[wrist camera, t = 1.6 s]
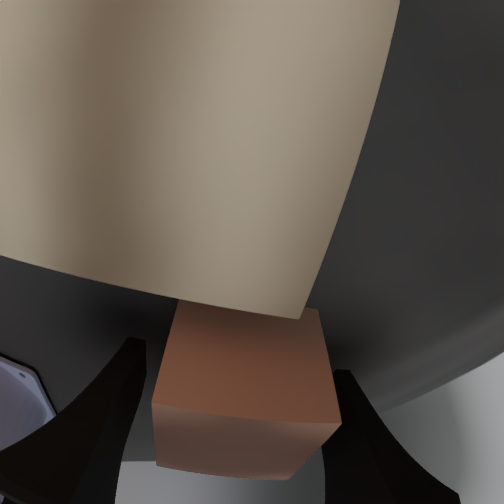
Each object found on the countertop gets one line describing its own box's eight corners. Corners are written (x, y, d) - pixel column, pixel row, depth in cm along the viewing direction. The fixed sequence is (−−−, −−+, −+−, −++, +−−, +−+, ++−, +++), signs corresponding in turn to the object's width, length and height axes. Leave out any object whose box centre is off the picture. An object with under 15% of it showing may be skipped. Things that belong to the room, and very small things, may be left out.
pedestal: (0, 206, 10) (-44, 240, 7) (39, -74, 4) (-6, -92, 1) (289, 261, 11) (299, 319, 9) (376, -63, 5) (414, -98, 3)
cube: (175, 369, 14) (156, 465, 9) (183, 284, 11) (151, 402, 7) (281, 384, 14) (287, 479, 10) (317, 307, 12) (341, 423, 7)
